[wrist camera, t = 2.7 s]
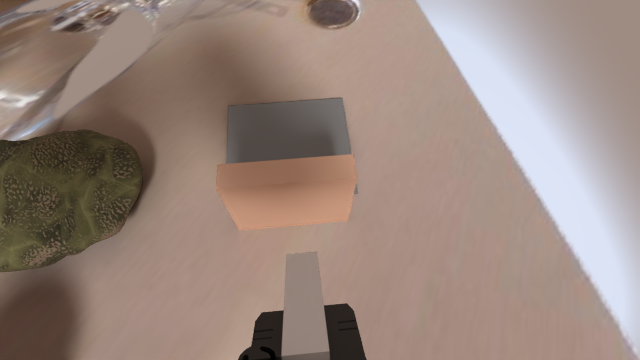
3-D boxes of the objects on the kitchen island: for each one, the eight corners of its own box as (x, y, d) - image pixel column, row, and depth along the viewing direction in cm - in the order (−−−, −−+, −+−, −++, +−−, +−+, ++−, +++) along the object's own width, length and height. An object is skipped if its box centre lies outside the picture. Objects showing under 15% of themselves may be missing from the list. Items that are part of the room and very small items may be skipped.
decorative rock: (138, 277, 36) (80, 247, 27) (-20, 281, 36) (-130, 252, 27) (165, 154, 43) (126, 98, 34) (34, 156, 43) (-40, 100, 34)
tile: (348, 220, 39) (357, 177, 30) (239, 230, 38) (216, 189, 30) (345, 200, 40) (353, 153, 31) (239, 209, 39) (217, 164, 31)
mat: (357, 193, 40) (357, 192, 40) (225, 204, 40) (225, 203, 39) (342, 100, 47) (342, 98, 47) (229, 107, 46) (228, 105, 46)
